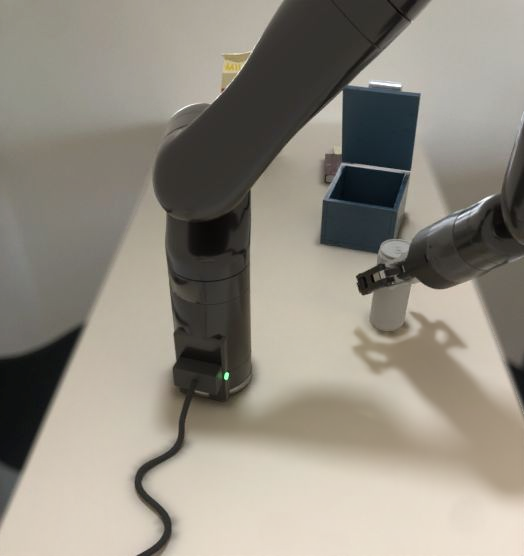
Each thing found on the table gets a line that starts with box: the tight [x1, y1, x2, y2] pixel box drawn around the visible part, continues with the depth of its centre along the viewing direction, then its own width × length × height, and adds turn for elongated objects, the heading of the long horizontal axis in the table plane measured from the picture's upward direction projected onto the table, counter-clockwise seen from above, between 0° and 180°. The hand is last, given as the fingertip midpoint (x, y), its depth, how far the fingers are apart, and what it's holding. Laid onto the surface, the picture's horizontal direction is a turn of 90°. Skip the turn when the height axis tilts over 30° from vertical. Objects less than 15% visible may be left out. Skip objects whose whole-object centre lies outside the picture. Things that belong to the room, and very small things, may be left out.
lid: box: [341, 79, 422, 172], centre depth 108 cm, size 14×12×5 cm
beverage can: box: [369, 238, 412, 332], centre depth 90 cm, size 5×5×12 cm
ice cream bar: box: [323, 145, 354, 184], centre depth 130 cm, size 5×2×15 cm
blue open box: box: [319, 163, 411, 254], centre depth 111 cm, size 14×12×8 cm
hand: (389, 280), depth 90 cm, fingers open, 8 cm apart
